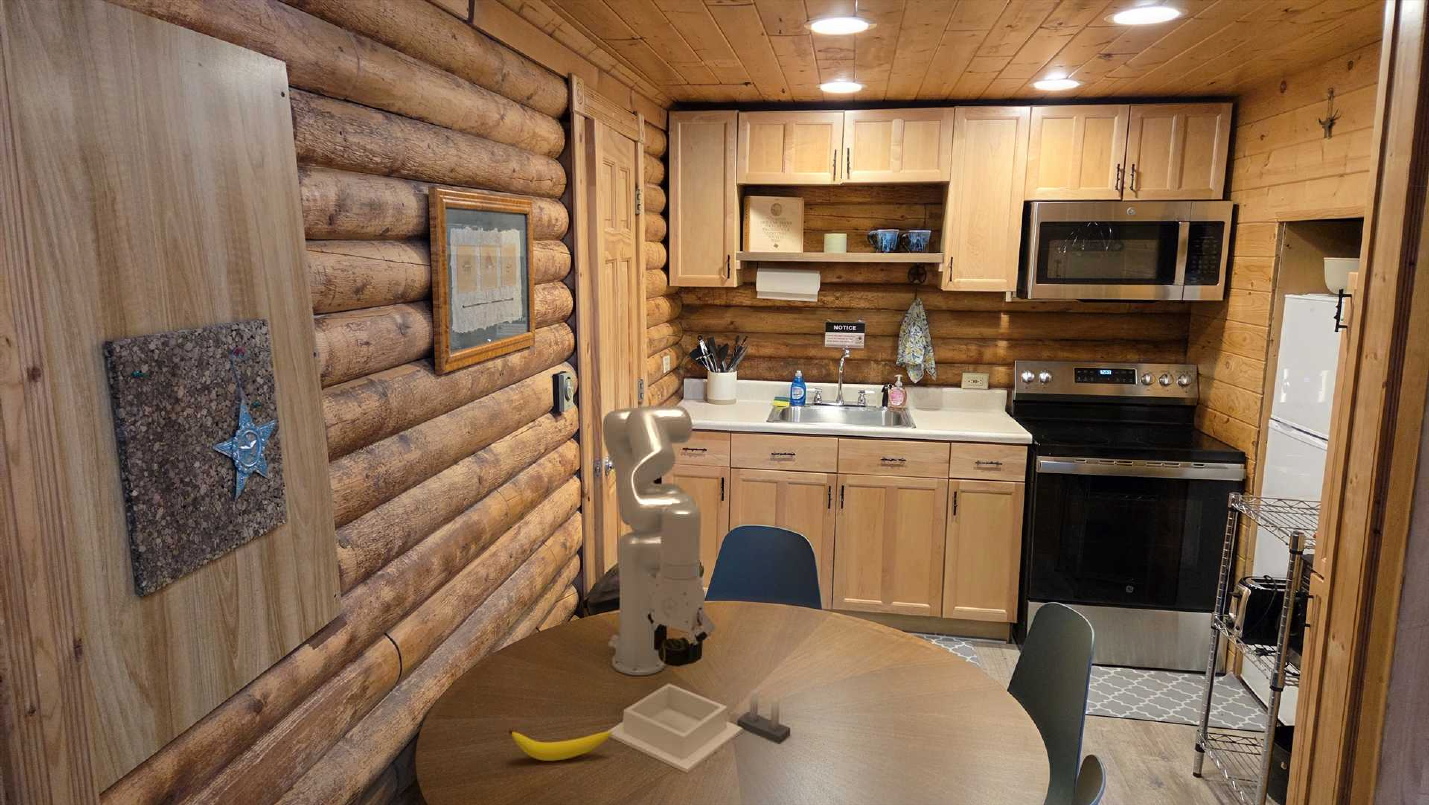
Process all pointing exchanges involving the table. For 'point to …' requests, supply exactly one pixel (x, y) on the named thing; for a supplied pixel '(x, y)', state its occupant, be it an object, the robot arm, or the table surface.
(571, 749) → the banana
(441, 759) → the table surface
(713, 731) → the white square tray
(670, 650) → the tape measure
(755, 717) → the peg board plate
